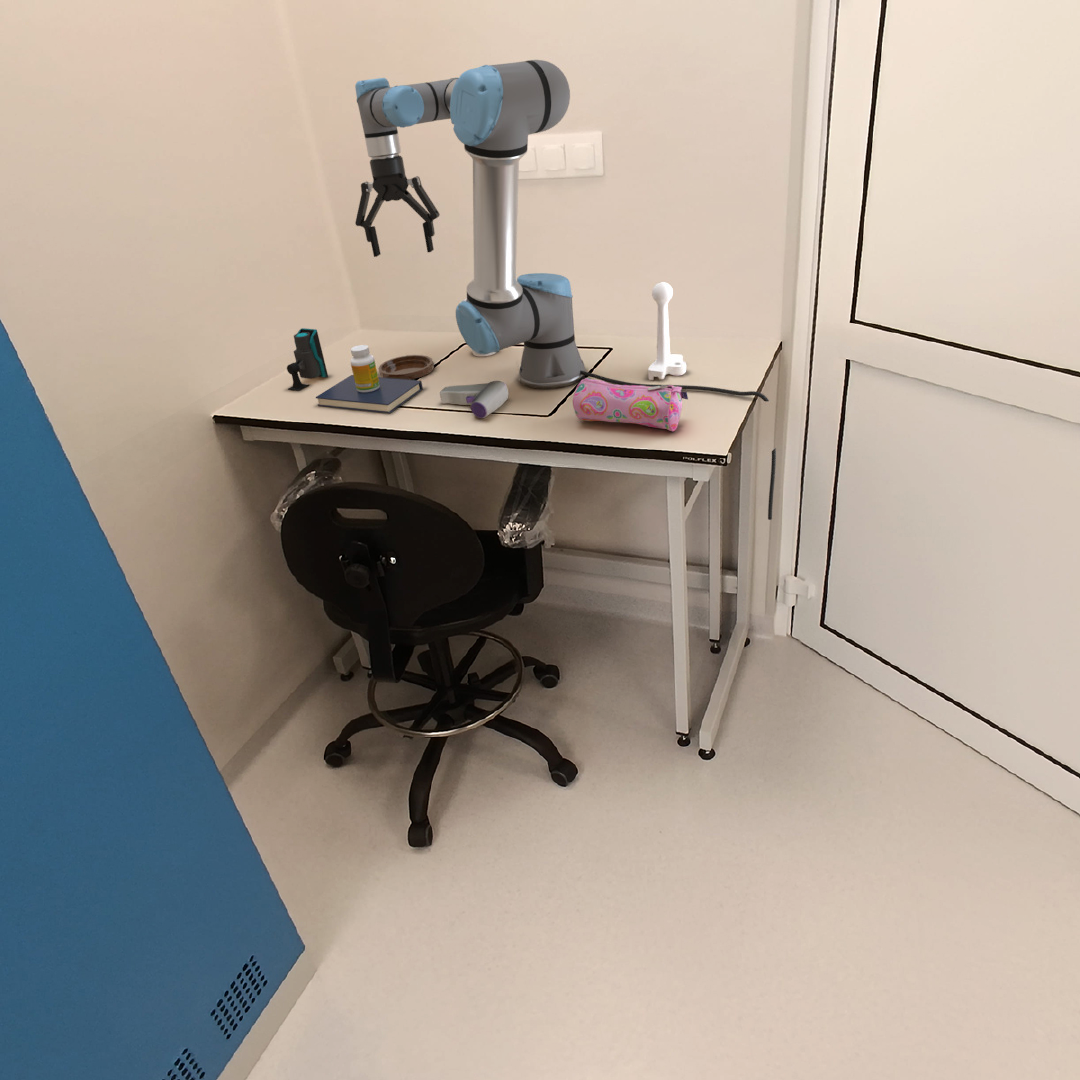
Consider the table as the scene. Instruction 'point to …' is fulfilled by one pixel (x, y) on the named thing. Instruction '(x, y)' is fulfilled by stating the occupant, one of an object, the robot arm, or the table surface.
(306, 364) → the surveillance camera
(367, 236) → the robot arm
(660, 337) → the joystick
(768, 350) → the table surface
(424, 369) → the brown round tray
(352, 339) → the table surface
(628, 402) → the pencil case
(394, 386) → the book
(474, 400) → the infrared thermometer
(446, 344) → the table surface
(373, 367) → the supplement bottle
